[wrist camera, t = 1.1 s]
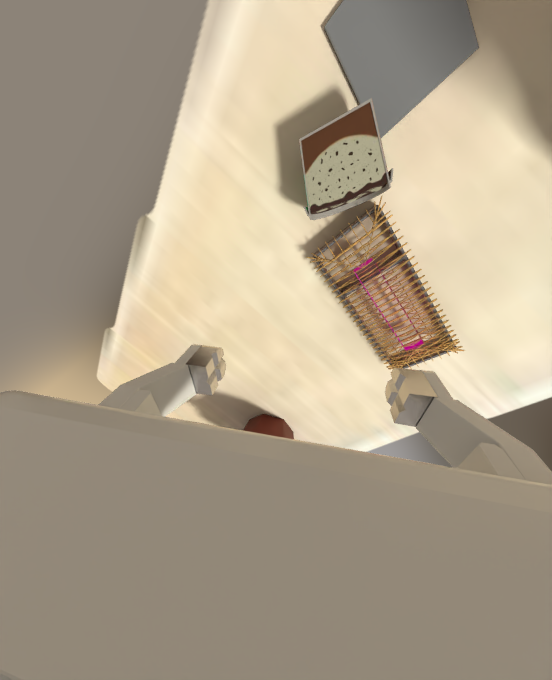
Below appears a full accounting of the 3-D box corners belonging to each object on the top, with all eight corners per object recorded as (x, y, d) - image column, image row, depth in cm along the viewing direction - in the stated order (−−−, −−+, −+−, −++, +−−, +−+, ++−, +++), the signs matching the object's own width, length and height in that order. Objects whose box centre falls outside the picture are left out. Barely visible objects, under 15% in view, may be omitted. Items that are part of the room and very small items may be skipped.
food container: (297, 158, 35) (312, 223, 38) (288, 144, 29) (307, 221, 33) (377, 116, 30) (386, 194, 33) (385, 90, 25) (394, 186, 28)
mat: (430, -116, 20) (433, -124, 20) (476, 50, 25) (478, 47, 24) (324, 29, 26) (324, 26, 26) (376, 142, 31) (377, 141, 30)
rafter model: (307, 253, 42) (304, 260, 37) (377, 195, 34) (386, 195, 30) (389, 367, 53) (396, 384, 48) (456, 341, 45) (471, 358, 40)
